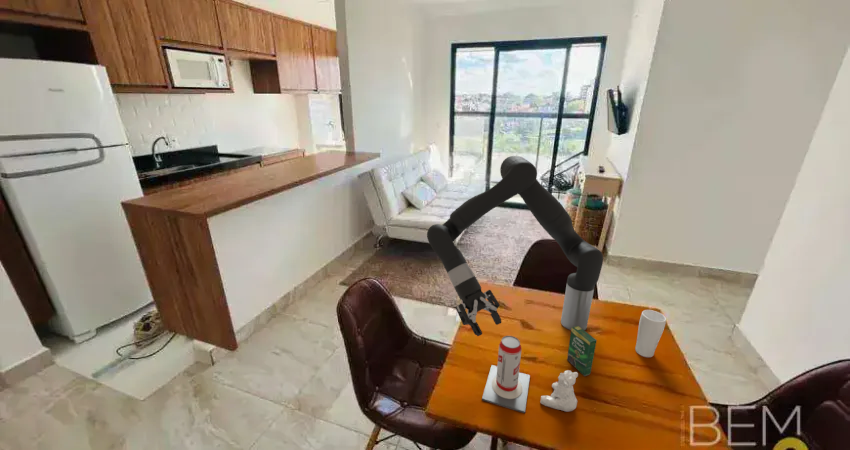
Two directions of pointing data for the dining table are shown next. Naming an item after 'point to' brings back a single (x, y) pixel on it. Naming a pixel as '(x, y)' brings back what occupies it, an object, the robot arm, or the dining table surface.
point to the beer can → (508, 363)
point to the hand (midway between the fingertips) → (489, 329)
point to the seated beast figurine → (562, 393)
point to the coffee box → (581, 350)
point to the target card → (504, 398)
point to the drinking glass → (649, 332)
